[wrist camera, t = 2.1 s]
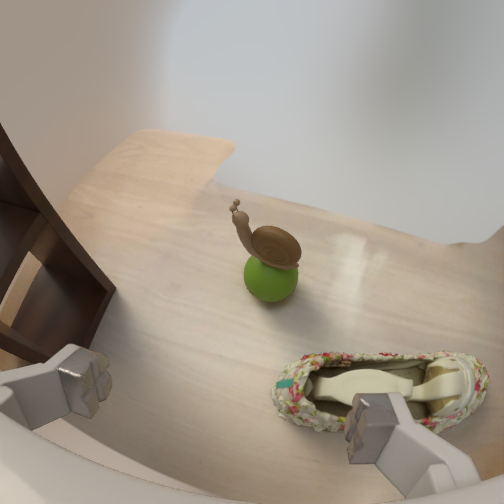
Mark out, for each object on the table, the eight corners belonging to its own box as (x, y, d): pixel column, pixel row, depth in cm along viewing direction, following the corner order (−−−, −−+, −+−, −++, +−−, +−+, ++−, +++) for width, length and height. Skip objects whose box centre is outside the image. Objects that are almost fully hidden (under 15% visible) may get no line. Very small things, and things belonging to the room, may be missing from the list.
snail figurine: (249, 254, 36) (246, 179, 25) (302, 275, 34) (320, 204, 24) (227, 294, 33) (214, 227, 23) (283, 317, 32) (296, 259, 21)
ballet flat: (480, 422, 23) (526, 413, 17) (266, 449, 25) (270, 458, 18) (475, 348, 28) (516, 325, 22) (271, 357, 29) (276, 335, 23)
